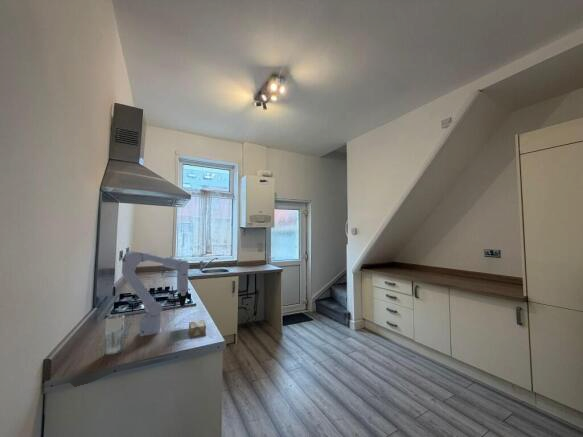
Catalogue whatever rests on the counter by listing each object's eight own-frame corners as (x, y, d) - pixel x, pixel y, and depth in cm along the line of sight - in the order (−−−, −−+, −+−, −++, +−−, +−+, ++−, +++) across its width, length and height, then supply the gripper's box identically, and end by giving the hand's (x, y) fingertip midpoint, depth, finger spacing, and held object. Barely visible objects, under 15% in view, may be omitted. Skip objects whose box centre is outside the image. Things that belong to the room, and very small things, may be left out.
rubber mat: (170, 343, 114) (170, 342, 114) (169, 332, 126) (169, 331, 126) (206, 336, 121) (206, 335, 122) (202, 326, 134) (202, 326, 134)
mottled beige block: (190, 328, 121) (205, 325, 124) (189, 322, 129) (203, 319, 132) (190, 336, 120) (205, 333, 124) (189, 330, 128) (203, 327, 132)
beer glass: (108, 357, 102) (110, 320, 103) (101, 352, 105) (102, 317, 106) (127, 350, 107) (128, 315, 108) (119, 346, 111) (120, 312, 112)
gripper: (191, 283, 134) (191, 308, 133) (188, 278, 147) (188, 301, 146) (177, 284, 131) (177, 310, 130) (175, 280, 144) (175, 303, 143)
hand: (182, 305), depth 138 cm, fingers closed
